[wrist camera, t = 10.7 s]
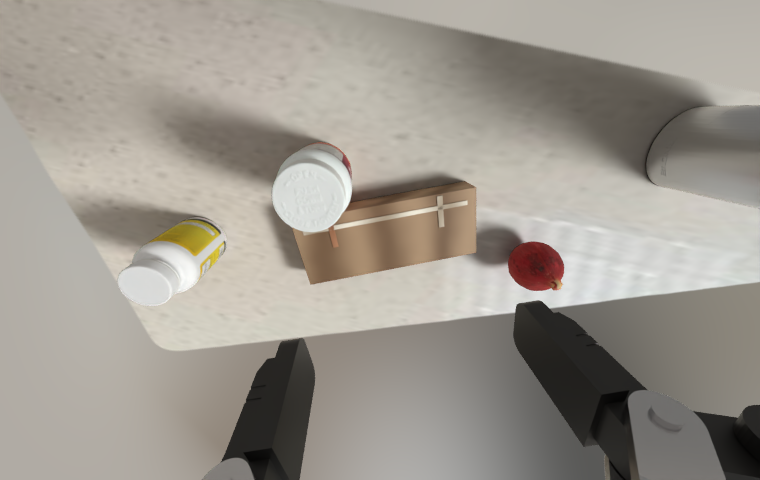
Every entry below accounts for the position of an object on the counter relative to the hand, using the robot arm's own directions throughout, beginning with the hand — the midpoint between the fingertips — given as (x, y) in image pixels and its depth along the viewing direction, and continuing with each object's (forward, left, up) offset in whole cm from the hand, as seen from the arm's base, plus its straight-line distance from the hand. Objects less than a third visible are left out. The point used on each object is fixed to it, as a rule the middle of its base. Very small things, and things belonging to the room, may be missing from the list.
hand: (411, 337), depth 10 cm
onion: (-18, +12, -23) cm, 32 cm away
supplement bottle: (+20, +2, -23) cm, 30 cm away
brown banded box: (-1, +5, -23) cm, 23 cm away
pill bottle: (+5, -3, -23) cm, 24 cm away
